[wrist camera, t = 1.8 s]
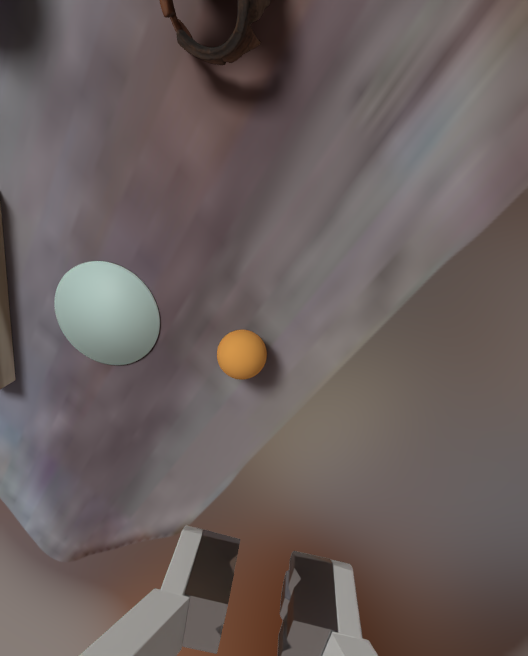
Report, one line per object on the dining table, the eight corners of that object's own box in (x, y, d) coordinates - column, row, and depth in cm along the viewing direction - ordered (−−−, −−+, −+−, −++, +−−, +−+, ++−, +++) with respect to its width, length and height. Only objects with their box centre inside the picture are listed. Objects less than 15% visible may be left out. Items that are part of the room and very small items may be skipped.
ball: (272, 328, 40) (268, 347, 35) (264, 370, 42) (258, 393, 37) (226, 318, 40) (215, 335, 35) (219, 360, 42) (208, 382, 37)
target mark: (164, 273, 39) (163, 273, 39) (156, 374, 44) (155, 374, 44) (53, 250, 40) (52, 251, 40) (57, 352, 44) (56, 353, 44)
